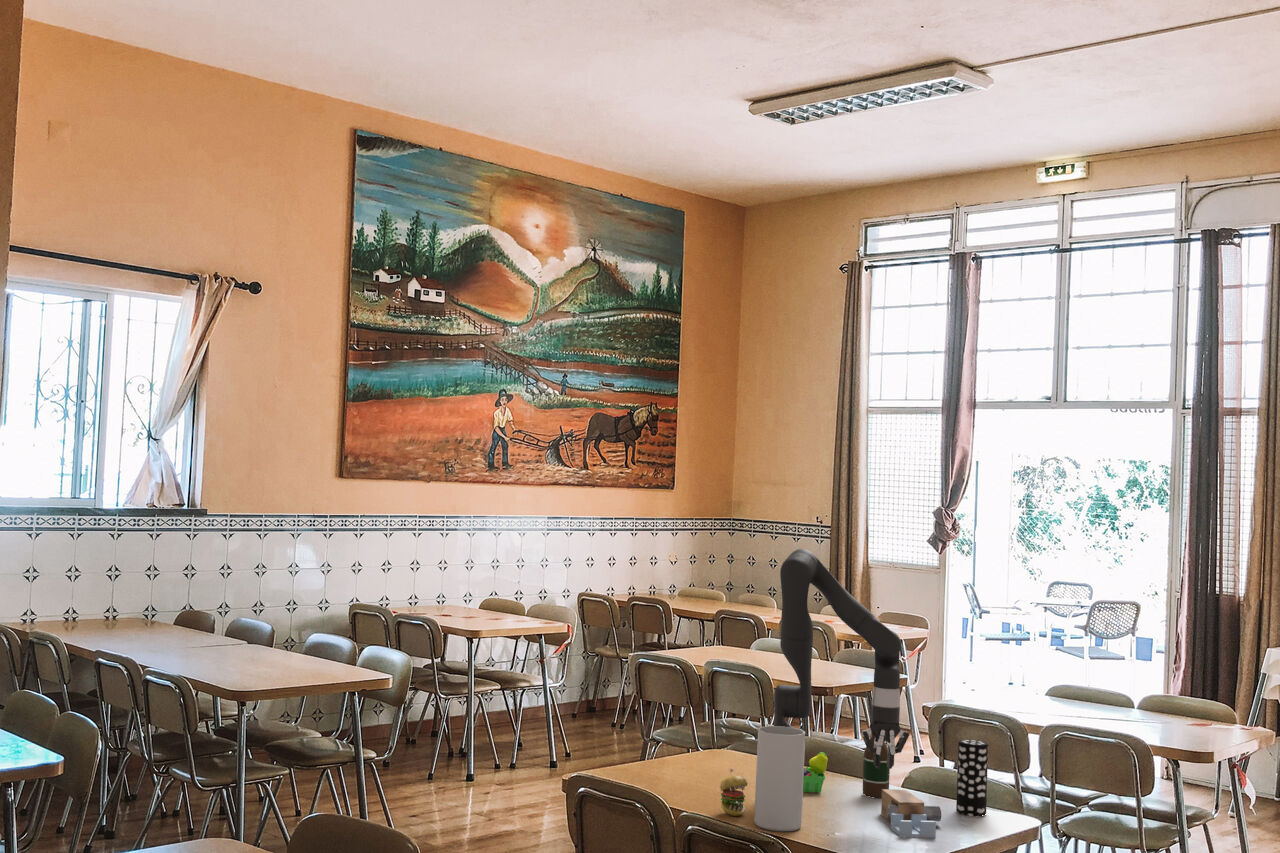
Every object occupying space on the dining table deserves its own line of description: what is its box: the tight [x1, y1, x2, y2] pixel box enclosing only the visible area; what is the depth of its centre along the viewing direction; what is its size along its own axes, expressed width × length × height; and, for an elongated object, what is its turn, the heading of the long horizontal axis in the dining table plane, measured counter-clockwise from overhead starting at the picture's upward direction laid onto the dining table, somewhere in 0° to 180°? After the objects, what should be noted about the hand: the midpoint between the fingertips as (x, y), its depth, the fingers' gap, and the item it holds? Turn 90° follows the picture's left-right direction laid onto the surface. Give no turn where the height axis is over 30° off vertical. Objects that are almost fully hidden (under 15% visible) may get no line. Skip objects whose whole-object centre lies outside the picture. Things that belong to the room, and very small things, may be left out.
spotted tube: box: [955, 738, 989, 817], centre depth 333 cm, size 8×8×20 cm
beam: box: [880, 788, 925, 822], centre depth 319 cm, size 7×14×7 cm, turn 7°
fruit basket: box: [803, 751, 829, 794], centre depth 352 cm, size 11×9×11 cm
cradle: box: [890, 813, 937, 838], centre depth 307 cm, size 10×8×4 cm
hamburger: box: [719, 768, 748, 817], centre depth 318 cm, size 8×7×12 cm
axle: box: [887, 805, 942, 822], centre depth 317 cm, size 14×4×4 cm, turn 96°
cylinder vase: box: [753, 725, 806, 832], centre depth 308 cm, size 12×12×25 cm
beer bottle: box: [862, 732, 891, 799], centre depth 349 cm, size 8×8×24 cm
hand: (883, 767), depth 316 cm, fingers open, 2 cm apart
